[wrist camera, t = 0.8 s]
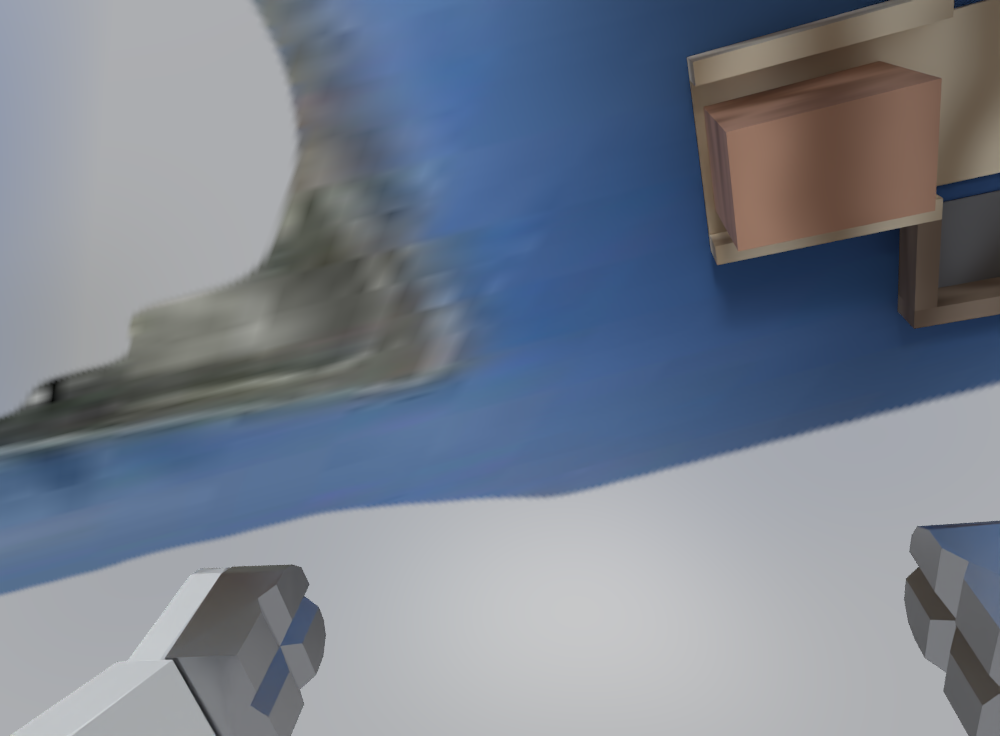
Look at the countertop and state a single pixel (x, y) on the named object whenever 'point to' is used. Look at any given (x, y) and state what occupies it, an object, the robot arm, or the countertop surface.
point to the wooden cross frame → (961, 151)
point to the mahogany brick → (825, 154)
